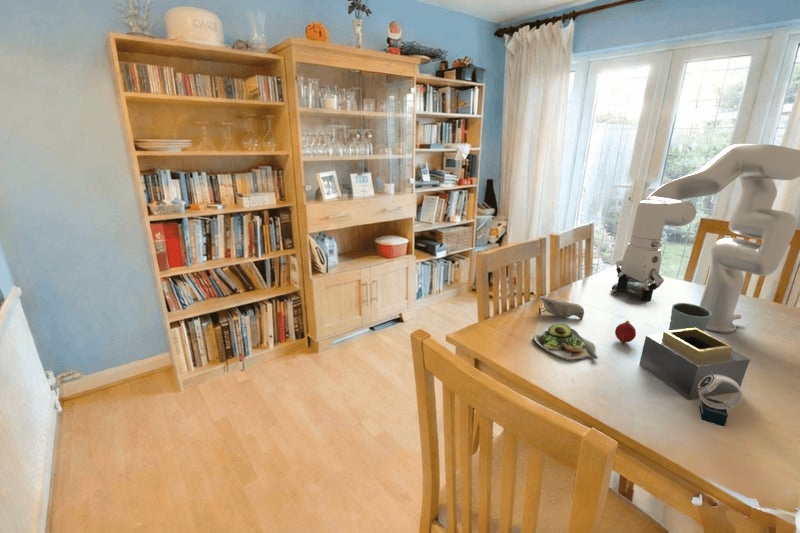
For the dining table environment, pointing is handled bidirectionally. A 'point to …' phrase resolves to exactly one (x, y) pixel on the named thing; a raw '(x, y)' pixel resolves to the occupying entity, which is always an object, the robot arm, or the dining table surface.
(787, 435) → the dining table surface
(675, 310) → the grey-green pot
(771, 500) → the dining table surface
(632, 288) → the dark grey lumpy piece
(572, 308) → the decorative bird
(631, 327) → the onion
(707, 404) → the watch
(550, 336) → the salad plate
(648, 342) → the housing
